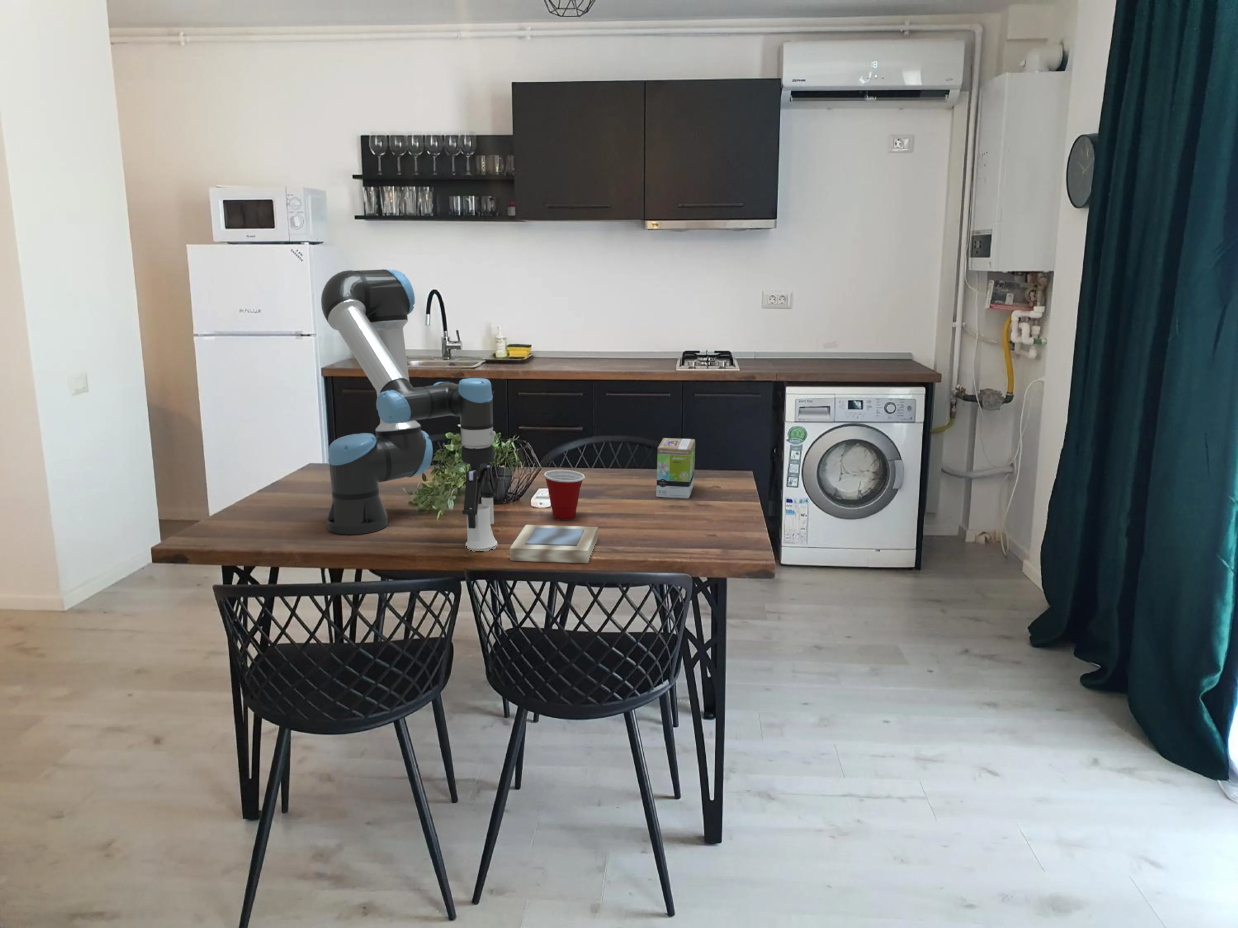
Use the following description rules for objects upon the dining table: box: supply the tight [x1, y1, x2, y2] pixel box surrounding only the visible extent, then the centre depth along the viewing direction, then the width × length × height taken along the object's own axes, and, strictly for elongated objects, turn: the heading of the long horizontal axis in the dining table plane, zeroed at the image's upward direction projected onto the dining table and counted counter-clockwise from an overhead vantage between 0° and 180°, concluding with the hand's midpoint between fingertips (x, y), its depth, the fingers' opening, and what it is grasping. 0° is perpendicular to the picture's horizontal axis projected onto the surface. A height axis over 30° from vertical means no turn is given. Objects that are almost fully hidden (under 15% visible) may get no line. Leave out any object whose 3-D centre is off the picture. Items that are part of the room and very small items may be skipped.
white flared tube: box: [465, 503, 498, 552], centre depth 217 cm, size 8×8×10 cm
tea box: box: [655, 437, 696, 499], centre depth 265 cm, size 15×10×15 cm, turn 171°
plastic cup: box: [543, 469, 585, 521], centre depth 240 cm, size 11×11×12 cm
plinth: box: [509, 524, 599, 564], centre depth 216 cm, size 18×18×3 cm
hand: (481, 531), depth 217 cm, fingers open, 13 cm apart
